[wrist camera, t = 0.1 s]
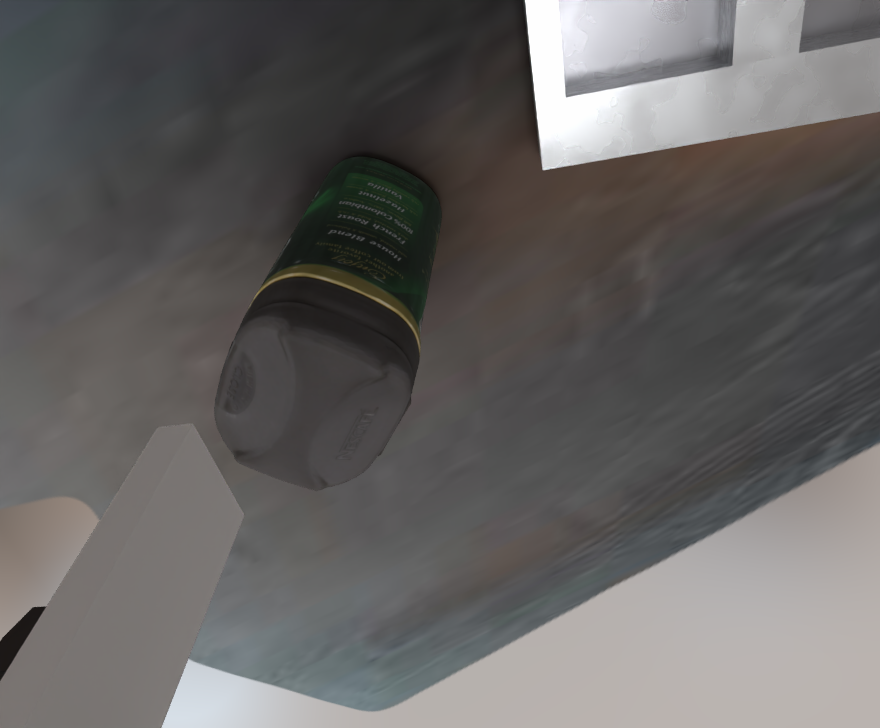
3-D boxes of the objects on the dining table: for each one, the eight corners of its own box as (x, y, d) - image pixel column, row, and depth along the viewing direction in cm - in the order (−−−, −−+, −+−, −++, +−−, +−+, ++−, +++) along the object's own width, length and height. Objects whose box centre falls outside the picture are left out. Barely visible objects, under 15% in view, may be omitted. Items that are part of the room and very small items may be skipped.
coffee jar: (336, 132, 36) (233, 293, 21) (459, 189, 38) (443, 377, 23) (289, 265, 42) (181, 469, 27) (398, 311, 43) (354, 526, 28)
